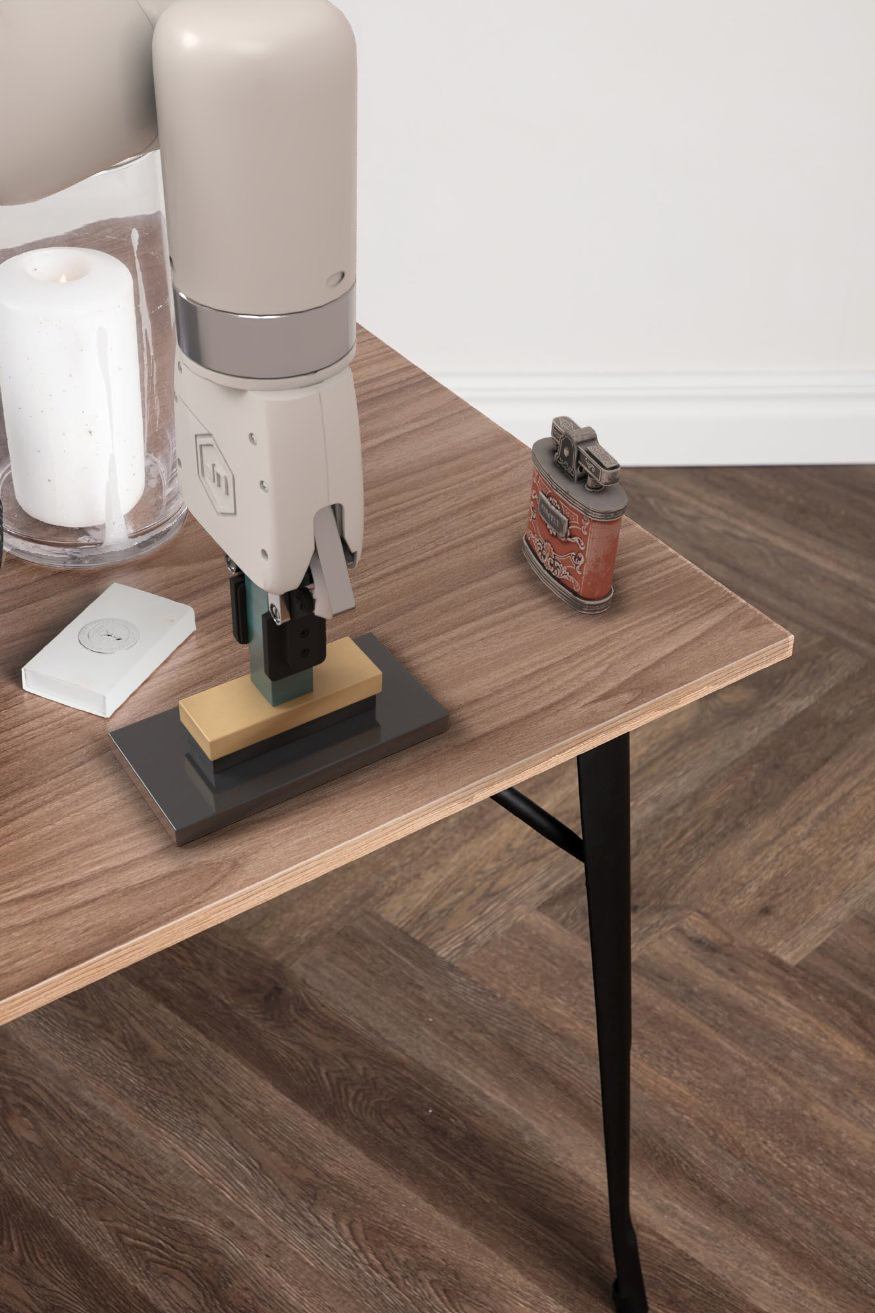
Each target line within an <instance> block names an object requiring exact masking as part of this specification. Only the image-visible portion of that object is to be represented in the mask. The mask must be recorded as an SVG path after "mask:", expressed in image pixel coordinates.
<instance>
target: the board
mask: <svg viewBox="0 0 875 1313" xmlns="http://www.w3.org/2000/svg"><path fill="white" fill-rule="evenodd" d="M351 640H352V641H353V642H354V643H355V644H356V645H357V646H358V647H359V648H360V649H361V650H362V651H363V652H364V654H365V655H366V656H367V657H368V658H369V659H370V660H371V661H372V662H373V663H374V664H375V665H376V666H377V667H378V669H379V670H380V671H381V672H382V691H381V692H380V693H377V694H376V707H375V708H372V709H370V710H368V711H365V712H363V713H360V714H358V715H356V716H353V717H351V718H348V719H346V720H343V721H341V722H339V723H336V724H334V725H331V726H329V727H326V728H324V729H322V730H319V731H317V732H314V733H312V734H310V735H307V736H305V737H302V738H300V739H297V740H295V741H293V742H290V743H288V744H285V745H283V746H280V747H278V748H276V749H273V750H271V751H268V752H266V753H264V754H261V755H259V756H256V757H254V758H251V759H249V760H247V761H244V762H242V763H239V764H237V765H235V766H232V767H230V768H227V769H225V770H222V771H220V772H218V773H215V774H214V773H213V772H212V771H211V769H210V768H209V767H208V765H207V764H206V763H205V761H204V760H203V759H202V757H201V756H200V754H199V753H198V752H197V750H196V749H195V748H194V746H193V745H192V744H191V742H190V741H189V740H188V736H187V728H186V727H185V726H184V724H183V723H182V722H181V720H180V710H179V705H175V706H174V707H171V708H168V709H166V710H163V711H161V712H158V713H156V714H153V715H150V716H148V717H145V718H143V719H139V720H138V721H135V722H132V723H129V724H127V725H124V726H121V727H119V728H116V729H114V730H112V731H109V732H108V733H107V738H108V745H109V749H110V751H111V752H112V754H113V755H114V756H115V758H116V760H117V761H118V762H119V764H120V765H121V767H122V769H123V770H124V771H125V773H126V774H127V776H128V777H129V778H130V780H131V781H132V783H133V784H134V786H135V788H136V789H137V790H138V792H139V794H140V795H141V796H142V797H143V799H144V800H145V802H146V803H147V804H148V806H149V808H150V809H151V811H152V812H153V813H154V815H155V816H156V818H157V820H158V821H159V822H160V824H161V825H162V827H163V829H165V831H166V833H167V835H169V838H170V839H171V840H172V841H173V843H174V845H176V847H180V846H183V845H185V844H188V843H191V842H193V841H194V840H197V839H199V838H201V837H204V836H206V835H208V834H211V833H213V832H215V831H217V830H220V829H222V828H224V827H227V826H229V825H231V824H233V823H237V822H238V821H241V820H244V819H245V818H247V817H250V816H252V815H256V814H257V813H259V812H262V811H264V810H266V809H268V808H271V807H274V806H276V805H278V804H280V803H282V802H284V801H287V800H289V799H291V798H294V797H296V796H299V795H301V794H303V793H305V792H308V791H310V790H312V789H314V788H316V787H320V786H321V785H324V784H326V783H328V782H330V781H333V780H335V779H337V778H340V777H342V776H345V775H346V774H347V775H348V774H349V773H351V772H354V771H356V770H359V769H361V768H363V767H365V766H368V765H370V764H373V763H374V762H376V761H379V760H382V759H384V758H386V757H389V756H391V755H393V754H396V753H398V752H400V751H403V750H404V749H407V748H410V747H411V746H414V745H416V744H419V743H420V742H423V741H425V740H428V739H430V738H432V737H434V736H437V735H439V734H441V733H443V732H446V731H448V730H449V727H450V713H449V711H447V710H446V709H445V707H444V706H443V705H442V704H440V702H439V701H438V700H437V699H436V698H435V697H434V696H433V694H431V693H430V692H429V691H428V690H427V688H426V687H425V686H424V685H423V684H421V682H419V680H418V679H417V678H416V677H415V676H414V675H413V674H412V673H411V672H410V671H409V670H408V668H406V666H404V665H403V663H402V662H401V661H399V659H398V658H397V657H396V656H395V655H394V654H393V653H392V652H391V651H390V650H389V648H387V646H386V645H384V644H383V642H382V641H381V640H380V639H379V638H378V637H377V636H376V635H375V634H374V633H373V632H372V631H368V632H366V633H363V634H361V635H358V636H355V637H352V638H351Z"/></svg>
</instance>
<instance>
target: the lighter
mask: <svg viewBox="0 0 875 1313" xmlns="http://www.w3.org/2000/svg"><path fill="white" fill-rule="evenodd" d="M551 420H552V421H551V430H550V436H548V437H543V438H540V439H537V440H535V442H533V444H532V448H531V454H530V455H531V456H530V458H531V462H532V463H533V467H532V478H531V486H530V497H529V505H528V516H527V525H526V532H524V534H523V536H522V545H521V550H522V554H523V556H524V557H525V559H526V561H527V563H528V565H529V566H530V568H531V569H532V570H533V572H534V573H535V574H536V575H537V577H538V578H539V579H540V581H541V582H542V583H543V584H544V585H545V586H546V587H547V588H548V589H549V590H550V591H551V592H552V593H553V594H554V595H556V596H557V597H558V598H559V599H560V600H562V601H563V602H564V603H566V604H567V605H568V606H570V607H571V608H572V609H574V610H575V611H577V612H579V613H583V614H588V615H589V614H591V615H594V614H600V613H603V612H605V611H607V610H608V609H609V608H610V607H611V606H612V603H613V598H614V592H615V591H614V587H613V585H612V583H613V576H614V570H615V565H616V557H617V551H618V545H619V538H620V533H621V532H620V531H621V526H622V519H623V516H625V515H626V512H627V509H628V502H629V497H628V495H627V493H626V491H625V490H624V489H623V487H622V486H621V484H620V483H619V482H620V475H621V468H622V466H621V464H620V463H619V461H618V460H617V459H616V458H614V456H613V455H611V454H610V453H609V452H608V451H607V450H606V448H604V447H603V446H602V445H601V444H600V442H599V440H598V435H597V433H596V430H595V429H594V428H592V426H590V425H588V426H584V427H581V426H580V425H579V424H578V423H577V422H575V421H574V420H573V419H572V418H571V417H570V416H567V415H560V416H556V417H553V418H552V419H551Z"/></svg>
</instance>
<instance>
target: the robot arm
mask: <svg viewBox="0 0 875 1313" xmlns="http://www.w3.org/2000/svg"><path fill="white" fill-rule="evenodd" d="M158 150H159V156H160V167H161V177H162V178H161V179H162V189H163V201H164V212H165V213H164V214H165V223H166V224H165V225H166V226H165V227H166V233H167V234H166V236H167V248H168V258H169V260H168V261H169V269H170V270H169V271H170V283H171V293H172V304H173V306H172V307H173V317H174V328H175V340H176V343H175V354H174V355H175V356H174V373H173V374H174V376H173V377H174V378H173V394H174V395H173V404H174V405H173V409H174V410H173V411H174V433H175V434H174V436H175V438H174V439H175V455H176V456H175V458H176V472H177V475H176V476H177V485H178V492H179V495H180V497H181V499H182V501H183V503H184V505H185V507H186V508H187V510H188V511H189V512H190V514H191V515H192V516H193V517H194V519H196V521H197V522H198V523H199V524H200V526H201V527H202V528H203V529H204V530H205V532H207V534H209V536H210V537H211V538H212V539H213V541H215V543H216V544H217V545H218V546H219V547H220V548H221V549H222V550H223V560H224V564H225V566H226V569H227V570H228V572H229V573H230V574H232V575H234V574H237V575H234V576H232V577H229V579H228V580H229V594H230V609H231V622H232V623H231V624H232V625H231V626H232V636H233V638H234V639H235V640H236V641H237V643H238V644H239V645H249V640H248V623H247V605H246V587H245V574H246V575H247V576H248V577H249V578H250V579H251V580H252V581H253V582H254V583H255V584H256V585H257V586H259V587H260V588H261V589H263V590H265V591H266V592H268V603H269V611H267V612H266V613H264V614H262V635H263V654H264V672H265V674H266V676H267V677H268V678H269V679H270V680H271V681H273V682H275V681H278V680H281V679H283V678H286V677H288V676H291V675H294V674H296V673H299V672H301V671H304V670H306V669H309V668H311V667H314V666H317V665H319V664H321V663H323V662H324V660H325V659H326V644H327V620H328V621H333V620H336V619H339V618H341V617H344V616H346V615H350V614H352V613H354V612H355V611H356V608H357V604H356V599H355V595H354V590H353V586H352V582H351V579H350V574H349V570H348V569H355V568H356V567H357V566H358V563H359V561H360V559H361V556H362V552H363V545H364V534H365V533H364V532H365V490H364V488H365V487H364V472H363V471H364V470H363V469H364V468H363V455H362V454H363V452H362V438H361V430H360V419H359V412H358V403H357V396H356V390H355V382H354V376H353V375H354V374H353V370H352V368H351V367H350V364H351V363H352V361H353V359H354V357H355V355H356V352H357V254H358V253H357V252H358V251H357V248H358V246H357V240H358V239H357V237H358V235H357V234H358V231H357V230H358V228H357V226H358V51H357V42H356V37H355V33H354V31H353V28H352V26H351V24H350V22H349V20H348V19H347V17H346V15H345V14H344V13H343V11H341V9H339V7H337V6H336V5H335V4H333V2H331V1H330V0H0V206H1V207H11V206H23V205H27V204H28V205H29V204H32V203H36V202H38V201H41V200H43V199H45V198H47V197H48V198H49V197H50V196H52V195H56V194H58V193H60V192H63V191H64V190H67V189H68V188H70V187H73V186H75V185H76V184H78V183H81V182H83V181H84V180H87V179H89V178H91V177H93V176H95V175H97V174H99V173H101V172H103V171H105V170H107V169H110V168H111V167H113V166H115V165H117V164H119V163H122V162H123V161H126V160H127V159H131V158H134V157H138V156H141V155H144V154H148V153H151V152H152V153H153V152H155V151H158ZM307 573H309V585H306V586H304V587H301V588H298V587H299V585H300V583H301V582H302V580H303V577H304V575H305V574H307ZM297 588H298V589H297ZM294 589H295V590H294ZM291 590H294V591H292V592H290V593H289V591H291Z"/></svg>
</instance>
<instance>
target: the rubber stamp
mask: <svg viewBox="0 0 875 1313" xmlns="http://www.w3.org/2000/svg"><path fill="white" fill-rule="evenodd" d="M306 585H309V573H307V574H305V575H304V577H303V580H302V582H301V583H300V585H299V587H298V588H301V587H304V586H306ZM245 587H246V605H247V623H248V640H249V644H248V655H249V656H248V658H249V673H248V674H244V675H242V676H240V677H237V678H235V679H232V680H229V681H226V682H224V683H221V684H219V685H216V686H213V687H211V688H209V689H206V690H203V691H201V692H198V693H196V694H195V693H194V694H193V695H190V696H187V697H185V698H182V699H180V700H179V701H178V706H179V710H180V720H181V722H182V723H183V724H184V726H185V727H186V728H187V736H188V740H189V741H190V742H191V744H192V745H193V746H194V748H195V749H196V750H197V752H198V753H199V754H200V756H201V757H202V759H203V760H204V761H205V763H206V764H207V765H208V767H209V768H210V769H211V771H212V772H213V773H214V774H215V773H218V772H220V771H222V770H225V769H227V768H230V767H232V766H235V765H237V764H239V763H242V762H244V761H247V760H249V759H251V758H254V757H256V756H259V755H261V754H264V753H266V752H268V751H271V750H273V749H276V748H278V747H280V746H283V745H285V744H288V743H290V742H293V741H295V740H297V739H300V738H302V737H305V736H307V735H310V734H312V733H314V732H317V731H319V730H322V729H324V728H326V727H329V726H331V725H334V724H336V723H339V722H341V721H343V720H346V719H348V718H351V717H353V716H356V715H358V714H360V713H363V712H365V711H368V710H370V709H372V708H375V707H376V694H377V693H380V692H381V691H382V672H381V671H380V670H379V669H378V667H377V666H376V665H375V664H374V663H373V662H372V661H371V660H370V659H369V658H368V657H367V656H366V655H365V654H364V652H363V651H362V650H361V649H360V648H359V647H358V646H357V645H356V644H355V643H354V642H353V641H352V640H351V639H352V638H351V637H350V636H349V635H347V636H344V637H341V638H339V639H337V640H333V641H331V642H329V643H326V659H325V660H324V662H323V663H321V664H319V665H317V666H314V667H311V668H309V669H306V670H304V671H301V672H299V673H296V674H294V675H291V676H288V677H286V678H283V679H281V680H278V681H275V682H273V681H271V680H270V679H269V678H268V677H267V676H266V674H265V672H264V654H263V635H262V614H264V613H266V612H267V611H269V603H268V592H266V591H265V590H263V589H261V588H260V587H259V586H257V585H256V584H255V583H254V582H253V581H252V580H251V579H250V578H249V577H248V576H247V575H246V574H245ZM298 588H297V589H298ZM294 590H295V589H294ZM294 590H291V591H289V593H290V592H292V591H294Z"/></svg>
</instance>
